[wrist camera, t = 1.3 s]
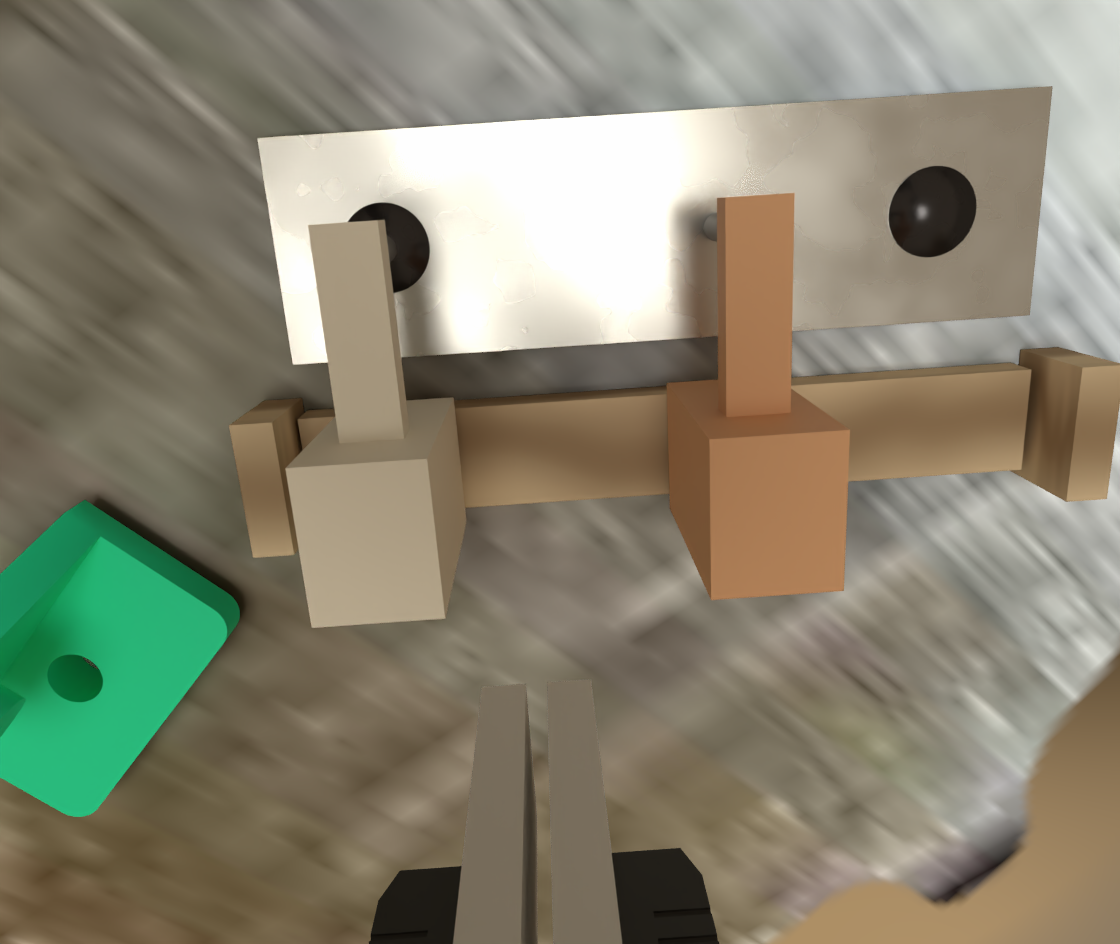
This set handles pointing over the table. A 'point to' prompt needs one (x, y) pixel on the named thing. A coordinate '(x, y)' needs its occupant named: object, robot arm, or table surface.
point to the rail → (852, 399)
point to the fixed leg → (373, 455)
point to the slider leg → (757, 428)
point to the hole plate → (671, 217)
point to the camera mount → (96, 654)
